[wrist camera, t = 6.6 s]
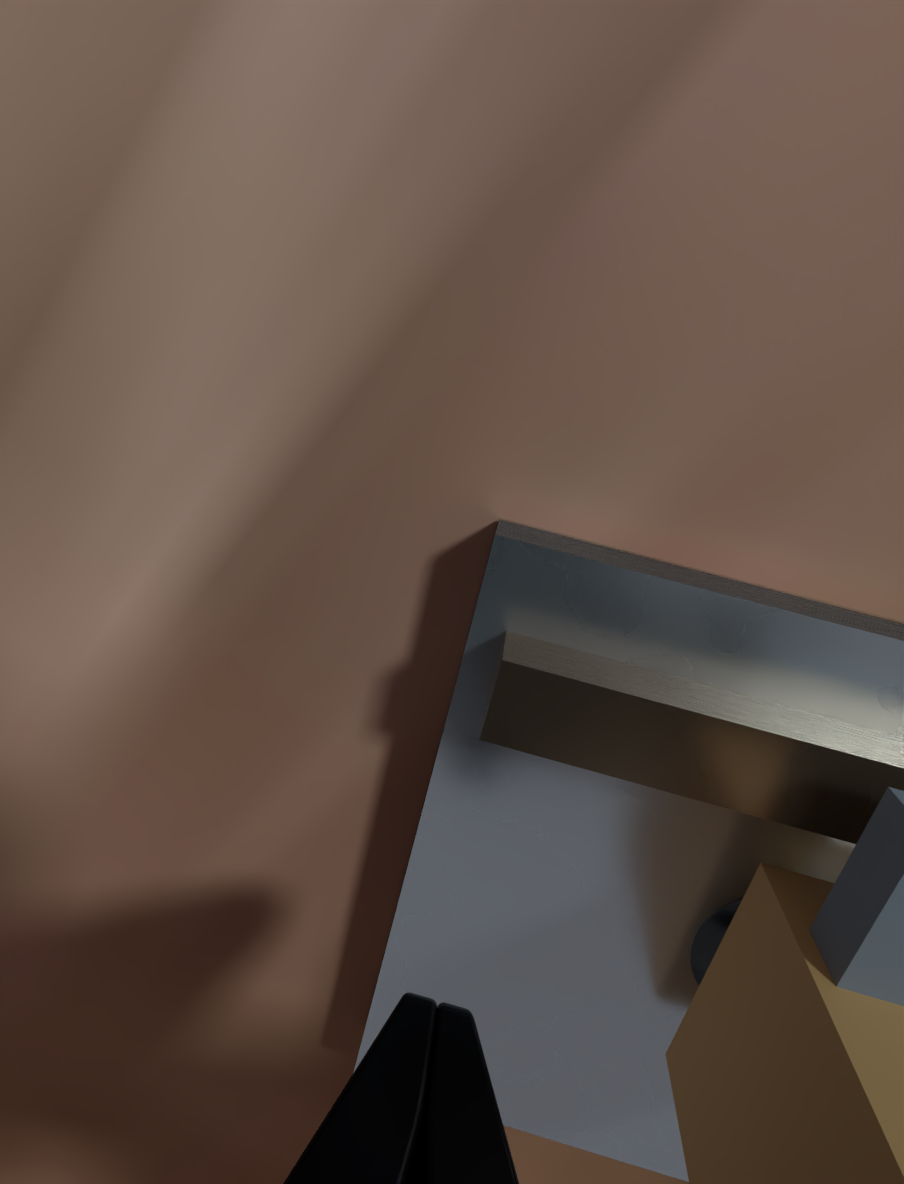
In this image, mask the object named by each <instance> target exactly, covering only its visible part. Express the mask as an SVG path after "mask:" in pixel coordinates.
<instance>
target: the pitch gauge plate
mask: <svg viewBox="0 0 904 1184" xmlns="http://www.w3.org/2000/svg"><path fill="white" fill-rule="evenodd" d="M888 787H891V788H895V789H898V790H902V791H904V624H901V623H897V622H893V621H889V620H886V619H882V618H878V617H874V616H870V615H866V614H862V613H859V612H855V611H851V610H847V609H843V608H839V607H835V606H832V605H828V604H824V603H820V602H816V601H812V600H808V599H805V598H801V597H797V596H793V595H789V594H785V593H781V592H778V591H774V590H770V589H766V588H762V587H758V586H754V585H751V584H747V583H743V582H739V581H735V580H731V579H727V578H724V577H720V576H716V575H712V574H708V573H704V572H700V571H697V570H693V569H689V568H685V567H681V566H677V565H673V564H670V563H666V562H662V561H658V560H654V559H650V558H646V557H643V556H639V555H635V554H631V553H627V552H623V551H619V550H616V549H612V548H608V547H604V546H600V545H596V544H592V543H589V542H585V541H581V540H577V539H573V538H569V537H565V536H562V535H558V534H554V533H550V532H546V531H542V530H538V529H535V528H531V527H527V526H523V525H519V524H515V523H511V522H508V521H504V520H500V519H499V523H498V526H497V529H496V533H495V536H494V540H493V544H492V548H491V551H490V555H489V559H488V563H487V567H486V570H485V574H484V578H483V582H482V586H481V589H480V593H479V597H478V601H477V605H476V608H475V612H474V616H473V620H472V624H471V627H470V631H469V635H468V639H467V643H466V646H465V650H464V654H463V658H462V662H461V665H460V669H459V673H458V677H457V681H456V684H455V688H454V692H453V696H452V700H451V703H450V707H449V711H448V715H447V719H446V722H445V726H444V730H443V734H442V738H441V741H440V745H439V749H438V753H437V757H436V760H435V764H434V768H433V772H432V776H431V779H430V783H429V787H428V791H427V795H426V799H425V802H424V806H423V810H422V814H421V818H420V821H419V825H418V829H417V833H416V837H415V840H414V844H413V848H412V852H411V856H410V859H409V863H408V867H407V871H406V875H405V878H404V882H403V886H402V890H401V894H400V897H399V901H398V905H397V909H396V913H395V916H394V920H393V924H392V928H391V932H390V935H389V939H388V943H387V947H386V951H385V954H384V958H383V962H382V966H381V970H380V973H379V977H378V981H377V985H376V989H375V992H374V996H373V1000H372V1004H371V1008H370V1011H369V1015H368V1019H367V1023H366V1027H365V1030H364V1034H363V1038H362V1042H361V1046H360V1049H359V1053H358V1057H357V1061H356V1065H355V1068H354V1071H355V1070H356V1068H357V1067H358V1065H359V1064H360V1062H361V1060H362V1059H363V1057H364V1056H365V1054H366V1053H367V1051H368V1049H369V1048H370V1046H371V1045H372V1043H373V1041H374V1040H375V1038H376V1037H377V1035H378V1034H379V1032H380V1030H381V1029H382V1027H383V1026H384V1024H385V1023H386V1021H387V1019H388V1018H389V1016H390V1015H391V1013H392V1012H393V1010H394V1008H395V1007H396V1005H397V1004H398V1002H399V1000H400V999H401V997H402V996H403V995H404V994H405V993H408V992H411V993H415V994H418V995H421V996H425V997H428V998H432V999H433V1000H435V1002H436V1004H437V1006H438V1005H439V1004H440V1003H442V1002H446V1003H449V1004H452V1005H456V1006H459V1007H463V1008H466V1009H468V1010H470V1012H471V1013H472V1015H473V1017H474V1020H475V1023H476V1027H477V1030H478V1034H479V1038H480V1041H481V1045H482V1049H483V1052H484V1056H485V1060H486V1064H487V1067H488V1071H489V1075H490V1078H491V1082H492V1086H493V1089H494V1093H495V1097H496V1100H497V1104H498V1108H499V1111H500V1115H501V1119H502V1122H503V1125H505V1126H508V1127H511V1128H514V1129H518V1130H521V1131H524V1132H527V1133H531V1134H534V1135H537V1136H540V1137H544V1138H547V1139H550V1140H554V1141H557V1142H560V1143H563V1144H567V1145H570V1146H573V1147H576V1148H580V1149H583V1150H586V1151H589V1152H593V1153H596V1154H599V1155H602V1156H606V1157H609V1158H612V1159H615V1160H619V1161H622V1162H625V1163H628V1164H632V1165H635V1166H638V1167H641V1168H645V1169H648V1170H651V1171H654V1172H658V1173H661V1174H664V1175H667V1176H671V1177H674V1178H677V1179H681V1180H684V1181H687V1182H689V1179H688V1174H687V1169H686V1163H685V1158H684V1152H683V1147H682V1141H681V1136H680V1131H679V1125H678V1120H677V1114H676V1109H675V1103H674V1098H673V1093H672V1087H671V1082H670V1076H669V1071H668V1065H667V1060H666V1055H665V1054H666V1052H667V1050H668V1048H669V1046H670V1044H671V1042H672V1040H673V1038H674V1036H675V1034H676V1032H677V1030H678V1028H679V1026H680V1024H681V1022H682V1020H683V1018H684V1016H685V1013H686V1011H687V1009H688V1007H689V1005H690V1003H691V1001H692V999H693V997H694V995H695V993H696V991H697V989H698V987H699V985H700V983H701V981H702V979H703V977H704V975H705V973H706V971H707V969H708V967H709V965H710V963H711V961H712V959H713V957H714V955H715V953H716V951H717V949H718V947H719V945H720V943H721V941H722V939H723V937H724V935H725V933H726V931H727V929H728V927H729V925H730V923H731V921H732V919H733V917H734V915H735V913H736V911H737V909H738V907H739V905H740V903H741V901H742V899H743V897H744V895H745V893H746V891H747V889H748V887H749V885H750V883H751V881H752V879H753V877H754V875H755V873H756V871H757V869H758V867H759V865H760V863H764V864H768V865H772V866H775V867H779V868H782V869H786V870H789V871H793V872H797V873H800V874H804V875H807V876H811V877H814V878H818V879H821V880H825V881H829V882H832V883H835V882H836V880H837V878H838V876H839V874H840V873H841V871H842V869H843V867H844V865H845V864H846V862H847V860H848V858H849V856H850V855H851V853H852V851H853V849H854V847H855V846H856V844H857V842H858V840H859V838H860V837H861V835H862V833H863V831H864V829H865V828H866V826H867V824H868V822H869V820H870V818H871V817H872V815H873V813H874V811H875V809H876V808H877V806H878V804H879V802H880V800H881V799H882V797H883V795H884V793H885V791H886V790H887V788H888ZM353 1073H354V1072H353Z"/></svg>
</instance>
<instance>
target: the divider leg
mask: <svg viewBox="0 0 904 1184" xmlns="http://www.w3.org/2000/svg"><path fill="white" fill-rule="evenodd" d="M665 1055H666V1060H667V1065H668V1071H669V1076H670V1082H671V1087H672V1093H673V1098H674V1103H675V1109H676V1114H677V1120H678V1125H679V1131H680V1136H681V1141H682V1147H683V1152H684V1158H685V1163H686V1169H687V1174H688V1179H689V1184H904V791H902V790H898V789H895V788H891V787H888V788H887V790H886V791H885V793H884V795H883V797H882V799H881V800H880V802H879V804H878V806H877V808H876V809H875V811H874V813H873V815H872V817H871V818H870V820H869V822H868V824H867V826H866V828H865V829H864V831H863V833H862V835H861V837H860V838H859V840H858V842H857V844H856V846H855V847H854V849H853V851H852V853H851V855H850V856H849V858H848V860H847V862H846V864H845V865H844V867H843V869H842V871H841V873H840V874H839V876H838V878H837V880H836V882H835V883H832V882H829V881H825V880H821V879H818V878H814V877H811V876H807V875H804V874H800V873H797V872H793V871H789V870H786V869H782V868H779V867H775V866H772V865H768V864H764V863H760V865H759V867H758V869H757V871H756V873H755V875H754V877H753V879H752V881H751V883H750V885H749V887H748V889H747V891H746V893H745V895H744V897H743V899H742V901H741V903H740V905H739V907H738V909H737V911H736V913H735V915H734V917H733V919H732V921H731V923H730V925H729V927H728V929H727V931H726V933H725V935H724V937H723V939H722V941H721V943H720V945H719V947H718V949H717V951H716V953H715V955H714V957H713V959H712V961H711V963H710V965H709V967H708V969H707V971H706V973H705V975H704V977H703V979H702V981H701V983H700V985H699V987H698V989H697V991H696V993H695V995H694V997H693V999H692V1001H691V1003H690V1005H689V1007H688V1009H687V1011H686V1013H685V1016H684V1018H683V1020H682V1022H681V1024H680V1026H679V1028H678V1030H677V1032H676V1034H675V1036H674V1038H673V1040H672V1042H671V1044H670V1046H669V1048H668V1050H667V1052H666V1054H665Z"/></svg>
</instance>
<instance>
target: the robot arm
mask: <svg viewBox="0 0 904 1184" xmlns="http://www.w3.org/2000/svg"><path fill="white" fill-rule="evenodd" d="M283 1184H519V1181H518V1178H517V1174H516V1170H515V1167H514V1163H513V1159H512V1156H511V1152H510V1148H509V1145H508V1141H507V1137H506V1133H505V1130H504V1126H503V1122H502V1119H501V1115H500V1111H499V1108H498V1104H497V1100H496V1097H495V1093H494V1089H493V1086H492V1082H491V1078H490V1075H489V1071H488V1067H487V1064H486V1060H485V1056H484V1052H483V1049H482V1045H481V1041H480V1038H479V1034H478V1030H477V1027H476V1023H475V1020H474V1017H473V1015H472V1013H471V1012H470V1010H468V1009H466V1008H463V1007H459V1006H456V1005H452V1004H449V1003H446V1002H442V1003H440V1004H439V1005H438V1006H437V1004H436V1002H435V1000H433V999H432V998H428V997H425V996H421V995H418V994H415V993H411V992H408V993H405V994H404V995H403V996H402V997H401V999H400V1000H399V1002H398V1004H397V1005H396V1007H395V1008H394V1010H393V1012H392V1013H391V1015H390V1016H389V1018H388V1019H387V1021H386V1023H385V1024H384V1026H383V1027H382V1029H381V1030H380V1032H379V1034H378V1035H377V1037H376V1038H375V1040H374V1041H373V1043H372V1045H371V1046H370V1048H369V1049H368V1051H367V1053H366V1054H365V1056H364V1057H363V1059H362V1060H361V1062H360V1064H359V1065H358V1067H357V1068H356V1070H355V1071H354V1073H353V1075H352V1076H351V1078H350V1079H349V1081H348V1083H347V1084H346V1086H345V1087H344V1089H343V1090H342V1092H341V1094H340V1095H339V1097H338V1098H337V1100H336V1101H335V1103H334V1105H333V1106H332V1108H331V1109H330V1111H329V1112H328V1114H327V1116H326V1117H325V1119H324V1120H323V1122H322V1124H321V1125H320V1127H319V1128H318V1130H317V1131H316V1133H315V1135H314V1136H313V1138H312V1139H311V1141H310V1142H309V1144H308V1146H307V1147H306V1149H305V1150H304V1152H303V1153H302V1155H301V1157H300V1158H299V1160H298V1161H297V1163H296V1165H295V1166H294V1168H293V1169H292V1171H291V1172H290V1174H289V1176H288V1177H287V1179H286V1180H285V1182H284V1183H283Z"/></svg>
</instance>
